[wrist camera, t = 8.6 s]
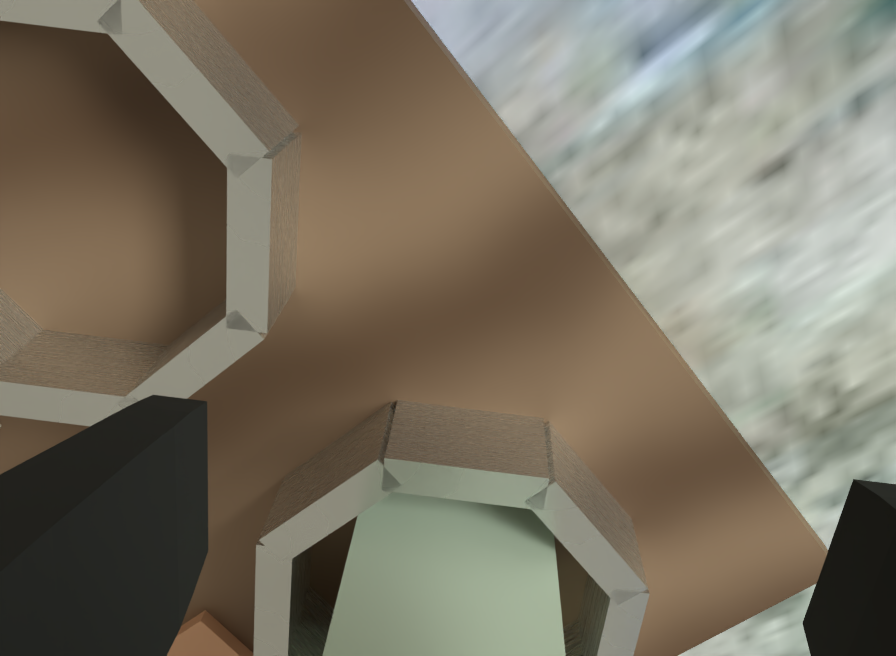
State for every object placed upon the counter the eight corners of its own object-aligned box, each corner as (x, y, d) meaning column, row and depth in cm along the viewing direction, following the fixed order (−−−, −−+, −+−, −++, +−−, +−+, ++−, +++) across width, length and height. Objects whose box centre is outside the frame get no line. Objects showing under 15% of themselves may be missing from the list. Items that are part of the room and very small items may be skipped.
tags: (330, 722, 24) (328, 734, 24) (239, 774, 25) (236, 786, 25) (-170, 271, 19) (-183, 276, 19) (-257, 357, 20) (-270, 365, 20)
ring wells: (689, 587, 21) (712, 663, 19) (425, 731, 24) (418, 813, 22) (79, -135, 16) (8, -151, 13) (-186, 153, 18) (-284, 182, 16)
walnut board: (824, 545, 22) (839, 571, 21) (311, 819, 27) (304, 849, 26) (151, -341, 15) (128, -361, 14) (-362, 248, 20) (-402, 262, 19)
